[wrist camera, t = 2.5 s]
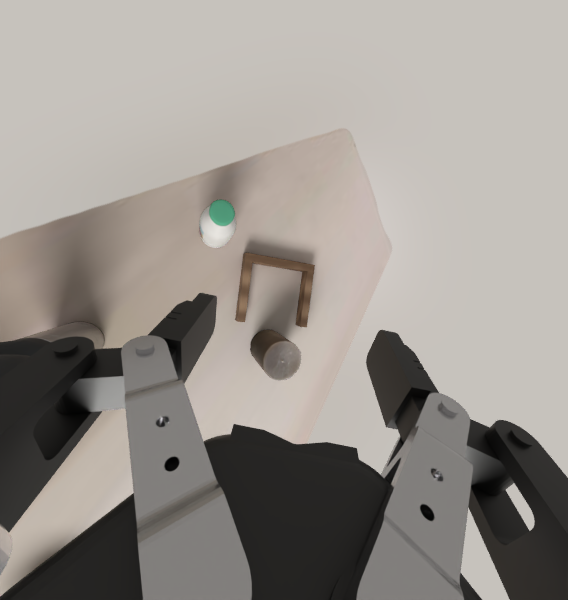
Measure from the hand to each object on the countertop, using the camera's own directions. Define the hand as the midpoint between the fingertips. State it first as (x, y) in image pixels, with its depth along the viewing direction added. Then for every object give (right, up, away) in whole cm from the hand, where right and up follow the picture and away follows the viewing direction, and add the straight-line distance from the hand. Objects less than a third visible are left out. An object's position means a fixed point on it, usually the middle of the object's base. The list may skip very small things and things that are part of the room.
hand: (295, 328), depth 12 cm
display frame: (-4, +3, +57) cm, 58 cm away
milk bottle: (-19, +19, +51) cm, 58 cm away
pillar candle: (-6, -12, +58) cm, 59 cm away
